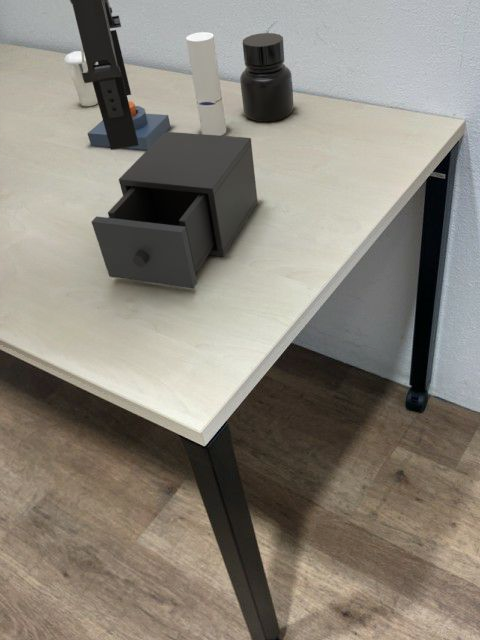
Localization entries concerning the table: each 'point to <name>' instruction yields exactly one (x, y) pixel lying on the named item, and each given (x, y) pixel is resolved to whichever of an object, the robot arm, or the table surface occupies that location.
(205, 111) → the tube
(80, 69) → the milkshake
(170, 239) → the open drawer with knob
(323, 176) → the table surface
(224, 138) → the grey drawer cabinet
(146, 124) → the button block
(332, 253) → the table surface
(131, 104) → the button
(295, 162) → the table surface
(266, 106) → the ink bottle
